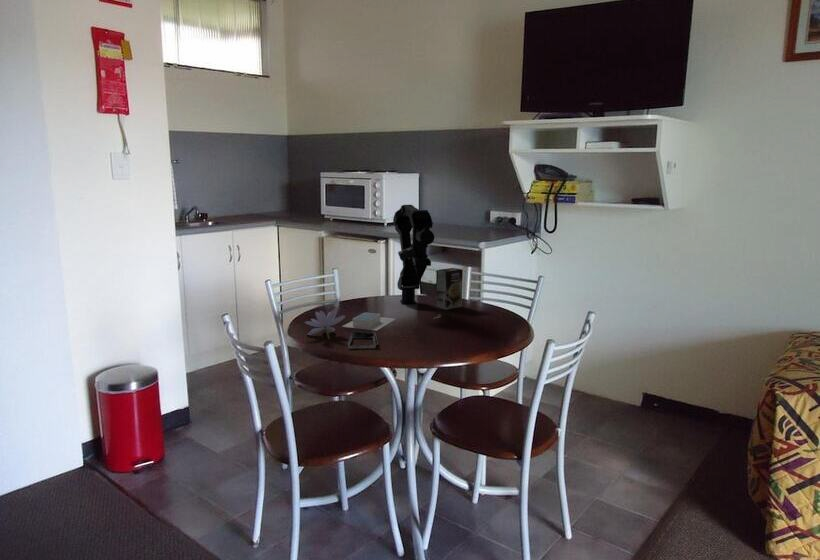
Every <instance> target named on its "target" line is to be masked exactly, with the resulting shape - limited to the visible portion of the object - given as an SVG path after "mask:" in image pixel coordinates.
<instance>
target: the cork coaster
mask: <svg viewBox="0 0 820 560" xmlns="http://www.w3.org/2000/svg"><path fill="white" fill-rule="evenodd" d="M436 318H437V319H439V318H442V314H441V313H438V314H437V315H436V316H434V317H433V318H432V319H433V320H436Z"/></svg>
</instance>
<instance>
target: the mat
mask: <svg viewBox="0 0 820 560" xmlns="http://www.w3.org/2000/svg"><path fill="white" fill-rule="evenodd" d="M395 320H396V318H392V317H384V316H380V322H379V323H377V324H376V325H374V326H372V327H370V328H361V327H353V320H352V321H349V322H348V323H346V324H343V325H342V326H341V328H342V327H343V328H349V329H350V328H352V329H358V330H368V331H376V332H377V331H378V330H380V329H382V328H384V327H385V326H387V325H388V324H390V323H392V322H394V321H395Z"/></svg>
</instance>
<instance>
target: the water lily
mask: <svg viewBox="0 0 820 560" xmlns="http://www.w3.org/2000/svg"><path fill="white" fill-rule="evenodd" d="M338 309H339V308H338V307H336V308H334V309H333V310H332V311H329V312H328V313H326V314H327V315H326V314H325V312H324V311H323V310H319V312H318V311H315V314H314V315H315V317H316V318H310V321H309V320H307V321H304V324H306V325H308V326H311V327H315V328H312V329H311V330H310V331H309V332H307V334H306V336H307V335H310V336H313V335H317V334H318V333H320V332H321V331H324V330H325V333H326V336H327V340H331V338H330V334H329V333H335V331H336V328H335V327H332V326H335V325H336V324H337V325H338V324H339V323H340V322H341V321H342V320H344V319H345V318H346V315H340V316H338V317H337V316H336V315H337V313H338V311H339V310H338Z"/></svg>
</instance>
